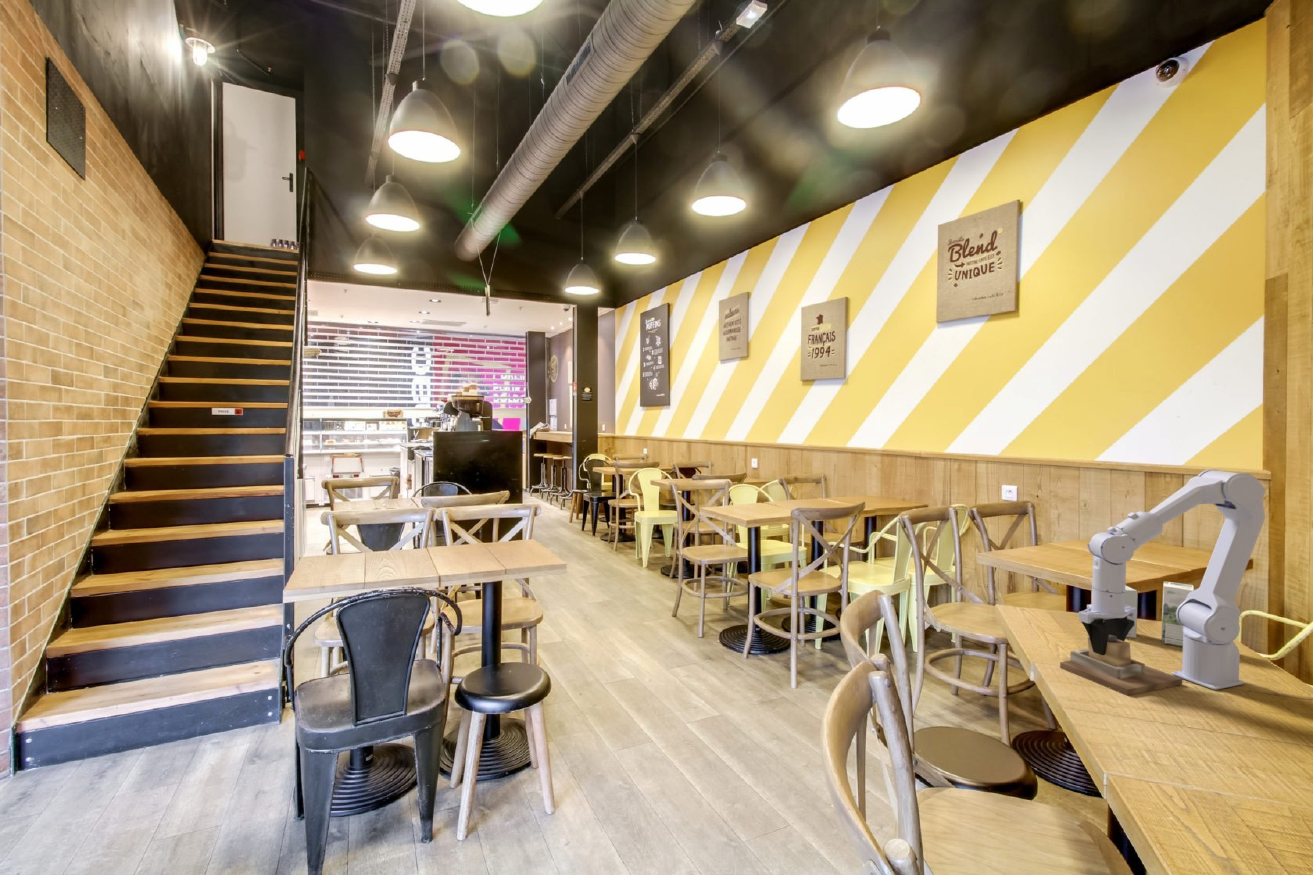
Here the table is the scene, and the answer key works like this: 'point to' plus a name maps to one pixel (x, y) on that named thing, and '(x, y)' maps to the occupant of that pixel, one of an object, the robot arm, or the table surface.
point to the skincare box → (1132, 602)
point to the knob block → (1113, 652)
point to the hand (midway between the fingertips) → (1106, 652)
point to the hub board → (1119, 674)
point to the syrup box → (1173, 612)
